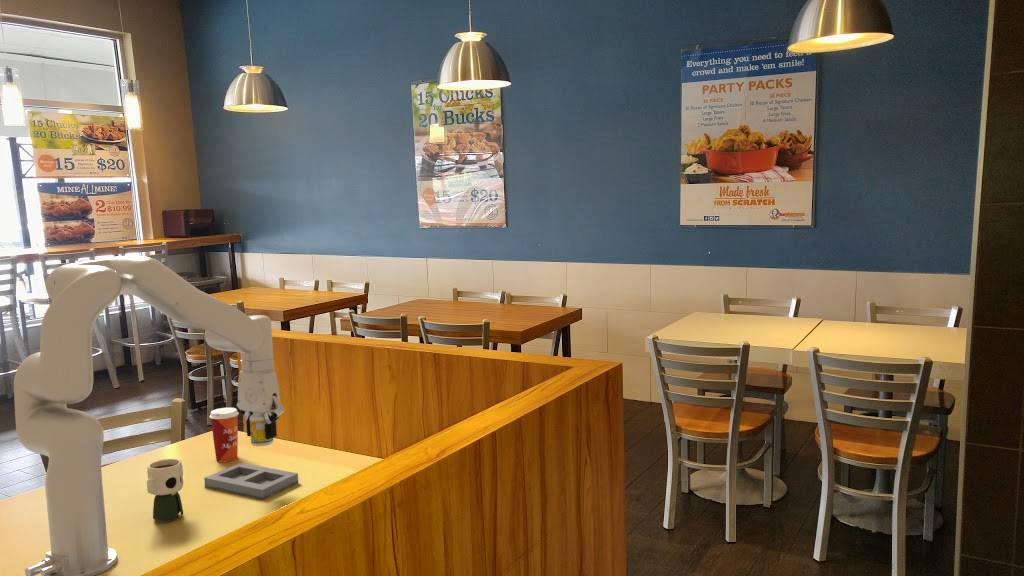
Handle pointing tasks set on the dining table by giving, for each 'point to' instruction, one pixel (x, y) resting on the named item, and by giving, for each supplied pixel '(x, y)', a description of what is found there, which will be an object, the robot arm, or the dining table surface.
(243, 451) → the dining table surface
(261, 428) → the supplement bottle
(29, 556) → the dining table surface
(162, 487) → the character mug
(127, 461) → the dining table surface
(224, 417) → the paper cup
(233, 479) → the drink carrier
